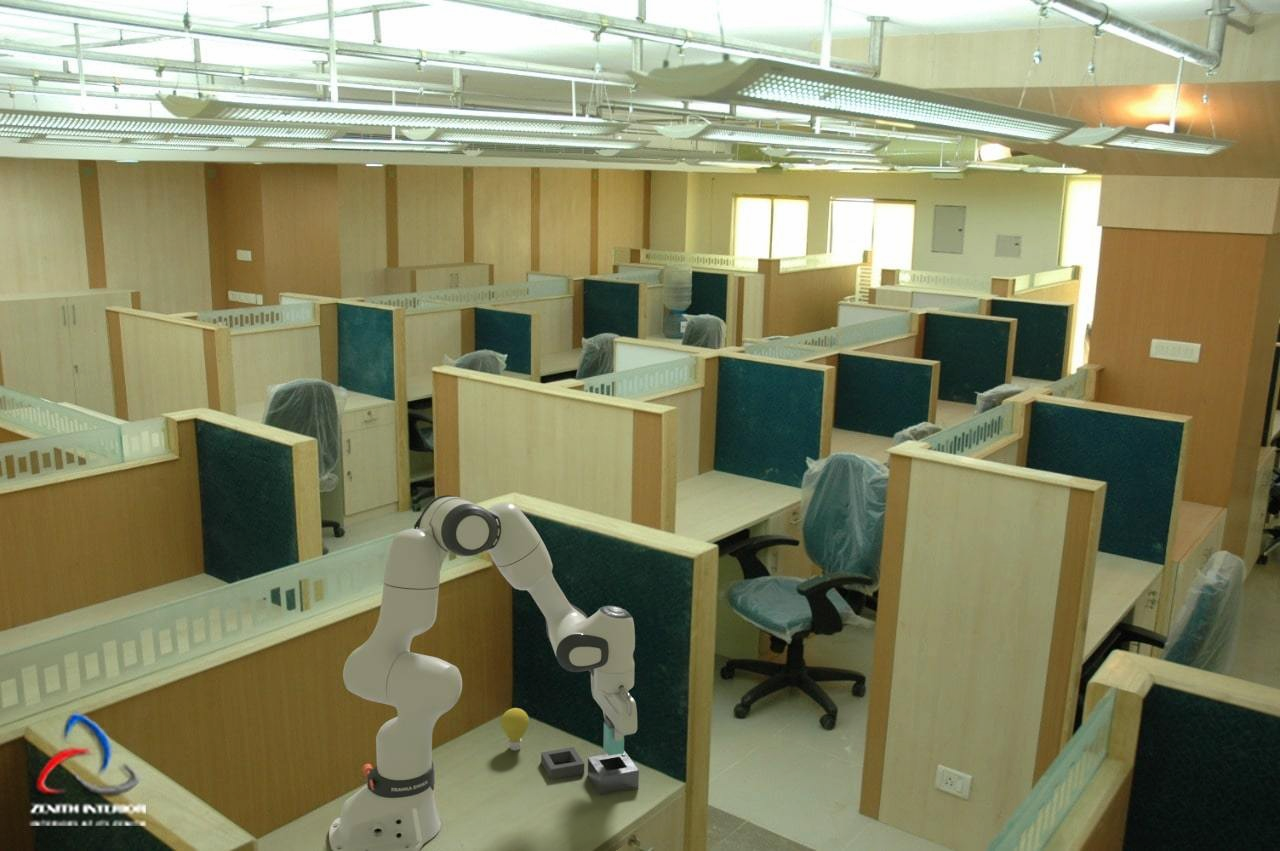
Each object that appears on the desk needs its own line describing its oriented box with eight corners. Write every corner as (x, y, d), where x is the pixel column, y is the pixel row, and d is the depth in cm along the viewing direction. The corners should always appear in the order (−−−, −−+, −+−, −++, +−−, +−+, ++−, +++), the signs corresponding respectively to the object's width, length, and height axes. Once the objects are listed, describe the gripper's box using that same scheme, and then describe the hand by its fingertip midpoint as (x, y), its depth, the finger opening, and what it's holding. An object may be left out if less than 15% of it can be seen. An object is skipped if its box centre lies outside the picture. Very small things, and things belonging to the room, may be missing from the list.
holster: (550, 779, 240) (550, 769, 240) (541, 762, 247) (541, 752, 247) (584, 773, 243) (584, 763, 242) (573, 756, 250) (573, 747, 250)
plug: (608, 755, 236) (609, 723, 235) (603, 748, 240) (603, 715, 238) (623, 752, 238) (624, 720, 236) (618, 745, 241) (618, 713, 239)
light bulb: (503, 740, 257) (503, 702, 255) (530, 741, 257) (531, 703, 255) (498, 754, 250) (498, 715, 248) (526, 755, 250) (527, 716, 248)
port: (600, 795, 234) (600, 776, 233) (587, 775, 242) (587, 756, 241) (638, 788, 237) (638, 769, 236) (624, 768, 245) (624, 750, 245)
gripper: (645, 695, 227) (643, 753, 230) (612, 656, 245) (611, 711, 248) (617, 700, 224) (616, 759, 227) (586, 660, 243) (585, 715, 246)
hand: (613, 733), depth 238 cm, fingers closed on plug, 4 cm apart
